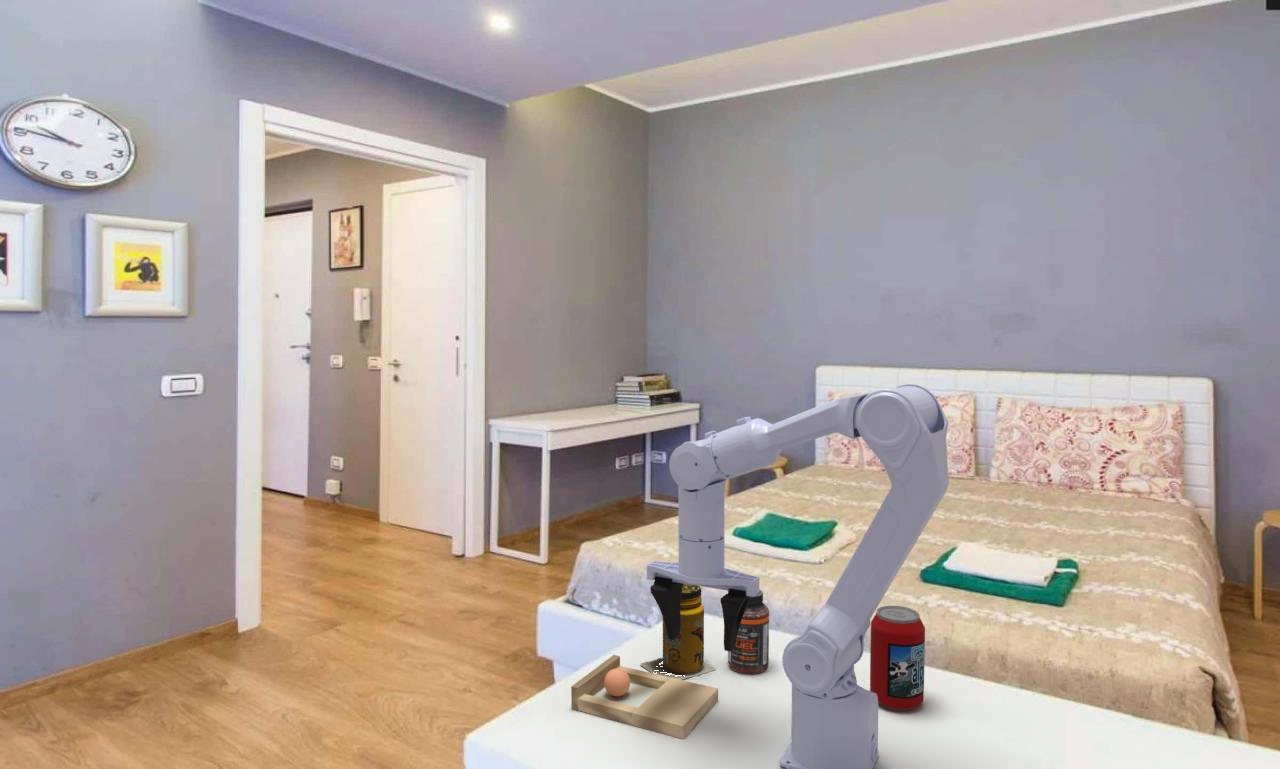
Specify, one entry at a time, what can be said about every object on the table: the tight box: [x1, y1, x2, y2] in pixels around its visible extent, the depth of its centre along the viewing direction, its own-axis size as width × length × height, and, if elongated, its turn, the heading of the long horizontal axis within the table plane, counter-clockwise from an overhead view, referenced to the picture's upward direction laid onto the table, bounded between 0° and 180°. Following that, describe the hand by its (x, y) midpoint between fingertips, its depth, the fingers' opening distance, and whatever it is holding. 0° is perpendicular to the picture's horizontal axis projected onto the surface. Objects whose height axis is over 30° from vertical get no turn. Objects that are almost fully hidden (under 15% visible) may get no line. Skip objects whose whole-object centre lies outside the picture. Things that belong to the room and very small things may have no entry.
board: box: [570, 654, 719, 740], centre depth 100 cm, size 16×11×3 cm
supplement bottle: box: [727, 588, 770, 675], centre depth 111 cm, size 6×6×11 cm
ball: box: [604, 668, 630, 696], centre depth 102 cm, size 4×4×4 cm
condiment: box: [640, 583, 717, 680], centre depth 111 cm, size 7×8×12 cm
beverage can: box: [869, 605, 926, 711], centre depth 100 cm, size 7×7×12 cm
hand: (701, 642), depth 96 cm, fingers open, 7 cm apart
